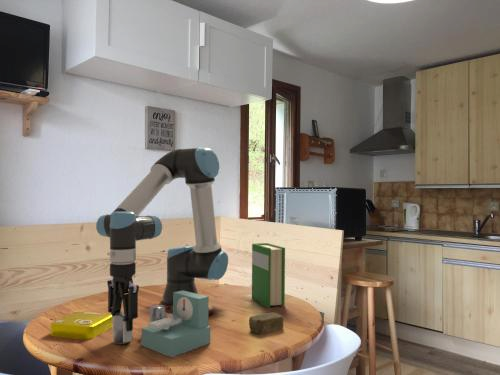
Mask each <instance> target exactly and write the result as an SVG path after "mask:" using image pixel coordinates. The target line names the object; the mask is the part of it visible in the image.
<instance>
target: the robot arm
mask: <svg viewBox="0 0 500 375" xmlns="http://www.w3.org/2000/svg"><path fill="white" fill-rule="evenodd" d="M219 162H220V161H219V158H218V156H217V154H216V153H215V152H214V150H213V149H211V148H208V147H196V148H194V147H193V148H192V147H191V148H177V149H174V150H171V151H170V152H168V153H166V154H164V155H163V156H162V157H160V158H158V160H156V161H155V163H153V164H152V165H151V167H150V169H149V170H150V171H149V173H148V174H147V175H146V176H145V177H144V178H143V179H142V180H141V181H140V183H138V184H137V185H136V187H135V188H134V189H133V190H132V191H131V192H130V193H129V194H128V195H127V196H126V197H125V198H124V199H123V200H122V202H120V204H119V205H118V206H117V207H116V208H115V209H114V210H113V211H112V213H110V214H103V215H100V216H99V218H98V219H97V220H96V224H95V226H96V231H97V233H98V234H99V235H100V236H102V237H105V238H109V262H110V264H109V275H110V277H112V279H109V280H107V283H106V284H107V287H108V288H107V290H108V291H107V312H108V314H111V315H112V316H113V327H112V339H114V315H115V314H117V313H122V312H124V316H125V319H123V342H124V343H125V342H128V341H130V342H131V341H133V329H134V328H133V325H134V323H133V322H134V320H135V319H137V318H138V317H139V315H138V314H139V313H138V310H139V308H138V307H139V306H138V305H139V304H138V303H139V301H138V300H139V295H138V294H139V289H140V286H139V284H138V285H137V284H134V281H133V276H135V275H136V271H137V269H136V267H137V266H136V262H135V261H136V260H137V252H136V251H137V248H136V247H137V246H136V244H137V243H136V242H137V241H143V240H152V239H154V238H157V237H159V236H160V234H162V230H163V223H162V221H161V219H160V218H159V217H158V216H155V215H145V216H142V215H141V213H143V212H144V210H145V209H146V208H147V207H148V205H149V204H150V203H151V202H152V201H153V199H154V198H155V197H156V196H157V195H158V194H159V193H160V191H161V190H162V189H163V188H164V187H165V186H166V185H169V184H171V183H172V181H174V180H176V179H184V182H185V185H186V186H188V187H189V193H190V199H191V200H190V201H191V210H192V211H191V212H192V221H193V227H194V238H195V245H185V246H184V245H183V246H176V247H172V248H169V249H168V250H167V255H166V256H167V257H166V267H167V268H166V285H165V289H164V292H163V294H162V303H163V304H164V305H165V304H166V305H169V306H173V293H174V292H178V291H187V292H191V293H196V294H199V293H198V290H197V286H196V284H195V279H201V280H202V279H203V280H209V281H212V280H213V281H218V280H221V279H222V278H223V277H224V276H225V275H226V272H227V270H228V265H229V256H228V253H227V252H226V251H223V250H222V245H221V244H220V243H219V242H218V238H217V229H216V218H215V209H214V199H213V188H212V185H213V184H214V182H215V180H216V179H215V178H216V177H217V176H218V175H219V174H220V171H219V170H220V163H219ZM140 215H141V216H140ZM122 306H123V308H122ZM122 309H123V311H122Z"/></svg>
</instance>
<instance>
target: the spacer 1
mask: <svg viewBox="0 0 500 375" xmlns="http://www.w3.org/2000/svg"><path fill="white" fill-rule="evenodd" d="M121 312H122V313H117V314H115V315H114V338H113V343H114V344H116V345H125V344H129V343H131V341H128V342H125V343H124V342H123V319H125V316H124V311H121Z"/></svg>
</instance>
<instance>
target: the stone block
mask: <svg viewBox="0 0 500 375" xmlns="http://www.w3.org/2000/svg"><path fill="white" fill-rule="evenodd" d="M248 324H249V330H250V331H251V332H253V333H254V334H257V335H263V334H267V333H273V332H276V331H281V330H283V329H284V316H283V315H282V314H279V313H278V312H274V311H272V312H268V313H267V312H265V313H261V314H258V315H252V316H249V320H248Z"/></svg>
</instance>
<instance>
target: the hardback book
mask: <svg viewBox="0 0 500 375" xmlns="http://www.w3.org/2000/svg"><path fill="white" fill-rule="evenodd" d="M251 244H252V245H251V298H252V299H253V300H254V301H256V302H257V301H258V303H259V304H261V305H263V306H264V307H266V308H268V309H270V308H271V306H272V307H273V306H280V307H282V306H284V307H285V306H286V305H285V302H286V301H285V300H286V299H285V298H286V297H285V296H286V295H285V293H286V292H285V290H286V287H285V286H286V283H285V282H286V277H285V276H286V274H285V273H286V247H284V246H280V245H276V244H273V243H269V242H263V243H262V242H261V243H251Z"/></svg>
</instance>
